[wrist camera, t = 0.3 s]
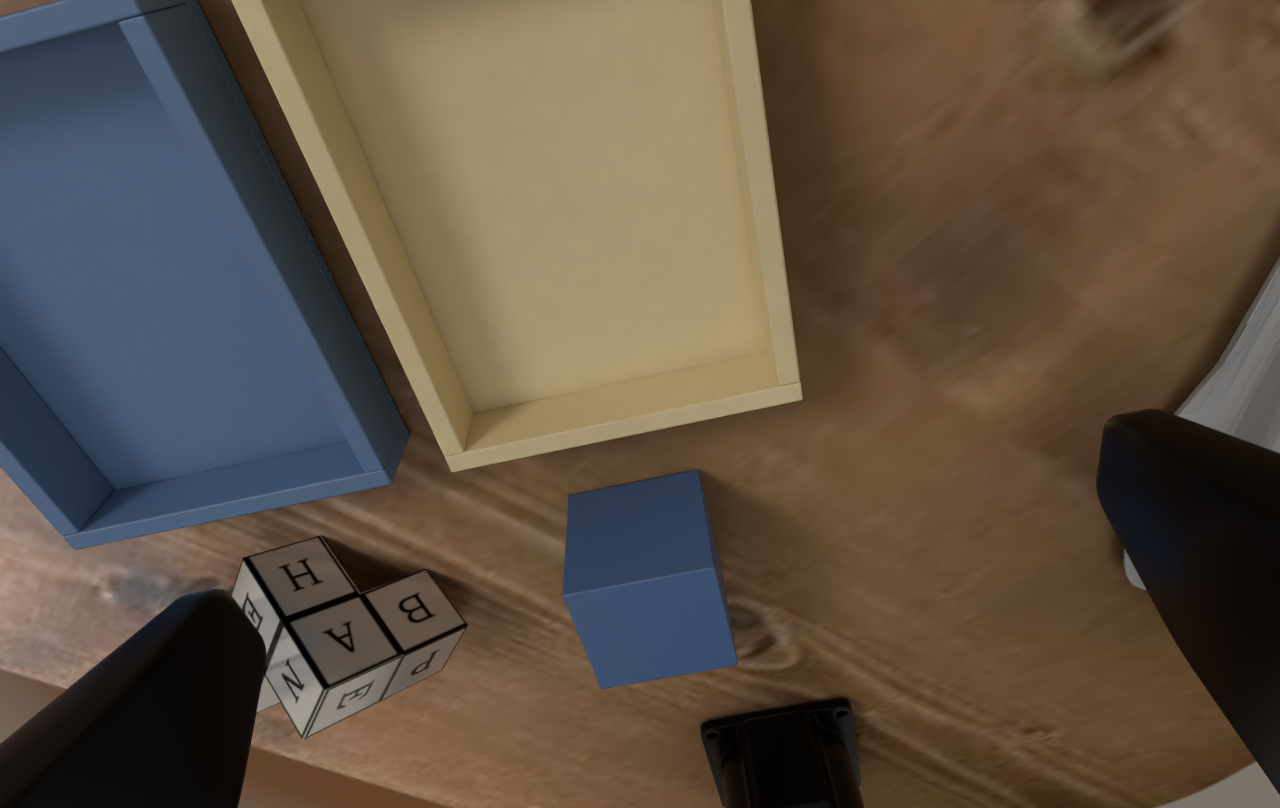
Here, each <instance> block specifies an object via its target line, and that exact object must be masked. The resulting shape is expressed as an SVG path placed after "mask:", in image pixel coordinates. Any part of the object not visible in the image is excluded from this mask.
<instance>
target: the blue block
mask: <svg viewBox="0 0 1280 808" xmlns="http://www.w3.org/2000/svg"><path fill="white" fill-rule="evenodd" d="M563 598H564V601H565V603H566V606H567V608H568V610H569V613H570V615H571V618H572V620H573V623H574V625H575V627H576V630H577V632H578V635H579V637H580V640H581V642H582V644H583V647H584V649H585V652H586V654H587V657H588V659H589V661H590V664H591V666H592V669H593V671H594V674H595V676H596V678H597V681H598V683H599V686H600V688H601V689H605V688H611V687H617V686H622V685H628V684H634V683H639V682H645V681H651V680H656V679H662V678H668V677H673V676H679V675H685V674H690V673H696V672H702V671H707V670H713V669H719V668H725V667H730V666H736V665H738V660H737V654H736V648H735V642H734V637H733V631H732V625H731V619H730V614H729V608H728V602H727V596H726V590H725V585H724V579H723V573H722V567H721V562H720V558H719V553H718V549H717V545H716V541H715V536H714V532H713V528H712V524H711V519H710V515H709V511H708V507H707V502H706V498H705V494H704V490H703V485H702V481H701V477H700V473H699V470H694V471H689V472H684V473H679V474H674V475H669V476H664V477H659V478H654V479H649V480H644V481H639V482H634V483H629V484H624V485H619V486H614V487H609V488H604V489H599V490H594V491H589V492H584V493H579V494H574V495H570V496H569V498H568V515H567V531H566V548H565V564H564V581H563Z"/></svg>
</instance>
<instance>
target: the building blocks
mask: <svg viewBox="0 0 1280 808" xmlns="http://www.w3.org/2000/svg"><path fill="white" fill-rule="evenodd" d="M231 596H232V597H233V598H234V599H235V600H236V602H237V603H238V604H239V606H240V607H241V609H242V610H243V611H244V613H245V614H246V615H247V617H248V618H249V619H250V621H251V622H252V623H253V625H254V626H255V627H256V629H257V630H258V631H259V633H260V634H261V636H262V637H263V640H264V643H265V647H266V665H265V670H264V675H263V681H262V686H261V691H260V697H259V702H258V707H257V713H258V712H260V711H262V710H265V709H267V708H269V707H271V706H273V705H276V704H278V703H280V702H281V704H282V706H283V708H284V709H285V711H286V713H287V714H288V716H289V718H290V719H291V721H292V723H293V725H294V726H295V728H296V730H297V731H298V733H299V735H300V736H301V738H302V740H304V739H306V738H308V737H310V736H312V735H314V734H316V733H318V732H320V731H322V730H324V729H326V728H328V727H330V726H332V725H334V724H336V723H338V722H340V721H342V720H344V719H346V718H348V717H350V716H352V715H354V714H356V713H358V712H360V711H362V710H364V709H366V708H368V707H370V706H372V705H374V704H376V703H378V702H380V701H382V700H384V699H386V698H388V697H390V696H392V695H394V694H396V693H398V692H400V691H402V690H404V689H406V688H408V687H410V686H412V685H414V684H416V683H418V682H420V681H422V680H424V679H426V678H428V677H430V676H432V675H434V674H436V673H438V672H440V671H442V669H443V668H444V666H445V664H446V663H447V661H448V659H449V657H450V656H451V654H452V652H453V650H454V649H455V647H456V645H457V643H458V642H459V640H460V638H461V636H462V635H463V633H464V631H465V630H466V628H467V626H468V625H467V623H466V622H465V621H464V619H463V618H462V617H461V615H460V614H459V612H458V611H457V610H456V608H455V607H454V606H453V604H452V603H451V602H450V600H449V599H448V598H447V596H446V595H445V594H444V592H443V591H442V590H441V588H440V587H439V586H438V584H437V583H436V582H435V580H434V579H433V577H432V576H431V575H430V573H429V572H428V571H427V569H424V570H422V571H419V572H416V573H413V574H411V575H408V576H405V577H402V578H400V579H397V580H394V581H391V582H389V583H386V584H383V585H381V586H378V587H375V588H372V589H370V590H367V591H364V592H361V593H360V592H359V590H358V589H357V588H356V586H355V585H354V583H353V582H352V580H351V579H350V577H349V576H348V574H347V573H346V571H345V570H344V569H343V567H342V566H341V564H340V563H339V561H338V560H337V558H336V557H335V555H334V554H333V553H332V551H331V550H330V548H329V547H328V545H327V544H326V542H325V541H324V539H323V538H322V537H321V536H317V537H314V538H310V539H307V540H304V541H300V542H297V543H293V544H290V545H286V546H283V547H279V548H276V549H272V550H269V551H265V552H262V553H258V554H255V555H251V556H248V557H244V558H243V560H242V563H241V566H240V569H239V572H238V575H237V578H236V581H235V584H234V587H233V590H232V593H231Z"/></svg>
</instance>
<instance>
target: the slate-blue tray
mask: <svg viewBox="0 0 1280 808" xmlns="http://www.w3.org/2000/svg"><path fill="white" fill-rule="evenodd" d="M408 438H409V432H408V430H407V428H406V426H405V424H404V422H403V420H402V418H401V416H400V414H399V412H398V410H397V408H396V406H395V404H394V402H393V400H392V398H391V396H390V394H389V392H388V390H387V387H386V385H385V383H384V381H383V379H382V377H381V375H380V373H379V371H378V369H377V367H376V365H375V363H374V361H373V359H372V357H371V355H370V353H369V351H368V349H367V347H366V345H365V343H364V340H363V338H362V336H361V334H360V332H359V330H358V328H357V326H356V324H355V322H354V320H353V318H352V316H351V314H350V312H349V310H348V308H347V306H346V304H345V302H344V300H343V298H342V296H341V293H340V291H339V289H338V287H337V285H336V283H335V281H334V279H333V277H332V275H331V273H330V271H329V269H328V267H327V265H326V263H325V261H324V259H323V257H322V255H321V253H320V251H319V249H318V246H317V244H316V242H315V240H314V238H313V236H312V234H311V232H310V230H309V228H308V226H307V224H306V222H305V220H304V218H303V216H302V214H301V212H300V210H299V208H298V206H297V204H296V202H295V200H294V197H293V195H292V193H291V191H290V189H289V187H288V185H287V183H286V181H285V179H284V177H283V175H282V173H281V171H280V169H279V167H278V165H277V163H276V161H275V159H274V157H273V155H272V153H271V150H270V148H269V146H268V144H267V142H266V140H265V138H264V136H263V134H262V132H261V130H260V128H259V126H258V124H257V122H256V120H255V118H254V116H253V114H252V112H251V110H250V108H249V106H248V103H247V101H246V99H245V97H244V95H243V93H242V91H241V89H240V87H239V85H238V83H237V81H236V79H235V77H234V75H233V73H232V71H231V69H230V67H229V65H228V63H227V61H226V59H225V56H224V54H223V52H222V50H221V48H220V46H219V44H218V42H217V40H216V38H215V36H214V34H213V32H212V30H211V28H210V26H209V24H208V22H207V20H206V18H205V16H204V14H203V12H202V9H201V7H200V5H199V3H198V1H197V0H58V1H55V2H51V3H48V4H44V5H41V6H37V7H33V8H30V9H26V10H23V11H19V12H16V13H12V14H8V15H5V16H1V17H0V467H1V468H2V469H3V470H4V471H5V472H6V473H7V475H8V476H9V477H10V478H11V479H12V480H13V481H14V482H15V484H16V485H17V486H18V487H19V488H20V489H21V490H22V492H23V493H24V494H25V495H26V496H27V497H28V498H29V499H30V501H31V502H32V503H33V504H34V505H35V506H36V507H37V508H38V510H39V511H40V512H41V513H42V514H43V515H44V516H45V518H46V519H47V520H48V521H49V522H50V523H51V524H52V525H53V527H54V528H55V529H56V530H57V531H58V532H59V533H60V534H61V535H62V536H64V539H65V540H66V541H67V542H68V543H69V544H70V546H71V547H72V548H73V549H75V550H77V549H82V548H87V547H91V546H96V545H101V544H106V543H111V542H116V541H120V540H125V539H130V538H135V537H140V536H145V535H150V534H154V533H159V532H164V531H169V530H174V529H179V528H183V527H188V526H193V525H198V524H203V523H208V522H212V521H217V520H222V519H227V518H232V517H237V516H241V515H246V514H251V513H256V512H261V511H266V510H271V509H275V508H280V507H285V506H290V505H295V504H300V503H304V502H309V501H314V500H319V499H324V498H329V497H333V496H338V495H343V494H348V493H353V492H358V491H363V490H367V489H372V488H377V487H382V486H387V485H390V484H392V482H393V479H394V476H395V474H396V471H397V468H398V465H399V463H400V460H401V457H402V454H403V452H404V449H405V446H406V443H407V441H408Z"/></svg>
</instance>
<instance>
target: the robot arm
mask: <svg viewBox="0 0 1280 808" xmlns="http://www.w3.org/2000/svg"><path fill="white" fill-rule="evenodd" d="M1096 487H1097V494H1098V498H1099V501H1100V504H1101V506H1102V508H1103V510H1104V512H1105V514H1106V516H1107V517H1108V519H1109V521H1110V523H1111V525H1112V527H1113V529H1114V530H1115V532H1116V534H1117V536H1118V538H1119V540H1120V542H1121V543H1122V545H1123V547H1124V549H1125V551H1126V553H1127V555H1128V556H1129V558H1130V560H1131V562H1132V564H1133V566H1134V568H1135V569H1136V571H1137V573H1138V575H1139V577H1140V579H1141V581H1142V582H1143V584H1144V586H1145V588H1146V590H1147V592H1148V594H1149V595H1150V597H1151V599H1152V601H1153V603H1154V605H1155V607H1156V608H1157V610H1158V612H1159V614H1160V616H1161V618H1162V620H1163V621H1164V623H1165V625H1166V627H1167V628H1168V630H1169V632H1170V633H1171V635H1172V637H1173V639H1174V640H1175V642H1176V644H1177V645H1178V647H1179V648H1180V650H1181V652H1182V653H1183V655H1184V656H1185V658H1186V659H1187V661H1188V662H1189V664H1190V665H1191V667H1192V668H1193V670H1194V671H1195V673H1196V674H1197V676H1198V677H1199V678H1200V680H1201V681H1202V683H1203V684H1204V686H1205V687H1206V689H1207V690H1208V692H1209V693H1210V694H1211V696H1212V697H1213V699H1214V700H1215V702H1216V703H1217V705H1218V706H1219V707H1220V709H1221V710H1222V712H1223V713H1224V715H1225V716H1226V718H1227V719H1228V720H1229V722H1230V723H1231V725H1232V726H1233V728H1234V729H1235V731H1236V732H1237V734H1238V735H1239V736H1240V738H1241V739H1242V741H1243V742H1244V744H1245V745H1246V747H1247V748H1248V749H1249V751H1250V752H1251V754H1252V755H1253V757H1254V758H1255V760H1256V761H1257V762H1258V764H1259V765H1260V767H1261V768H1262V770H1263V771H1264V773H1265V774H1266V776H1267V777H1268V778H1269V780H1270V781H1271V783H1272V784H1273V785H1274V787H1275V789H1276V790H1277V791H1278V793H1279V794H1280V453H1278V452H1276V451H1273V450H1270V449H1267V448H1265V447H1262V446H1259V445H1256V444H1254V443H1251V442H1248V441H1245V440H1243V439H1240V438H1237V437H1235V436H1232V435H1229V434H1226V433H1224V432H1221V431H1218V430H1215V429H1213V428H1210V427H1207V426H1204V425H1202V424H1199V423H1196V422H1194V421H1191V420H1188V419H1185V418H1183V417H1180V416H1177V415H1174V414H1172V413H1169V412H1166V411H1163V410H1160V409H1145V410H1140V411H1135V412H1129V413H1124V414H1119V415H1115V416H1113V417H1111V418H1110V419H1109V420H1108V421H1107V422H1106V424H1105V426H1104V430H1103V436H1102V443H1101V450H1100V458H1099V465H1098V472H1097V479H1096ZM265 665H266V647H265V643H264V640H263V637H262V636H261V634H260V633H259V631H258V630H257V629H256V627H255V626H254V625H253V623H252V622H251V621H250V619H249V618H248V617H247V615H246V614H245V613H244V611H243V610H242V609H241V607H240V606H239V604H238V603H237V602H236V600H235V599H234V598H233V597H232V596H231V594H229V593H228V592H226V591H224V590H220V589H213V590H208V591H202V592H197V593H192V594H188V595H185V596H182V597H180V598H179V599H177V600H176V601H174V602H173V603H172V604H171V605H170V606H168V607H167V608H166V609H165V610H163V611H162V612H161V613H160V614H159V615H157V616H156V617H155V618H154V619H152V620H151V621H150V622H149V623H148V624H146V625H145V626H144V627H143V628H141V629H140V630H139V631H138V632H136V633H135V634H134V635H133V636H132V637H130V638H129V639H128V640H127V641H125V642H124V643H123V644H122V645H121V646H119V647H118V648H117V649H116V650H114V651H113V652H112V653H111V654H110V655H108V656H107V657H106V658H105V659H103V660H102V661H101V662H100V663H98V664H97V665H96V666H95V667H94V668H92V669H91V670H90V671H89V672H87V673H86V674H85V675H84V676H83V677H81V678H80V679H79V680H78V681H76V682H75V683H74V684H73V685H72V686H70V687H69V688H68V689H67V690H65V691H64V692H63V693H62V694H60V695H59V696H58V697H57V698H56V699H54V700H53V701H52V702H51V703H49V704H48V705H47V706H46V707H45V708H43V709H42V710H41V711H40V712H38V713H37V714H36V715H35V716H34V717H32V718H31V719H30V720H29V721H27V722H26V723H25V724H24V725H23V726H21V727H20V728H19V729H18V730H16V731H15V732H14V733H13V734H11V735H10V736H9V737H8V738H7V739H5V740H4V741H3V742H2V743H0V808H238V803H239V800H240V795H241V790H242V786H243V781H244V777H245V771H246V766H247V761H248V755H249V750H250V745H251V739H252V734H253V729H254V723H255V718H256V713H257V707H258V702H259V697H260V691H261V686H262V681H263V675H264V670H265ZM701 738H702V741H703V744H704V748H705V751H706V754H707V757H708V760H709V764H710V767H711V770H712V773H713V776H714V780H715V783H716V786H717V789H718V793H719V796H720V799H721V802H722V805H723V806H724V807H725V808H864V804H863V801H862V797H861V794H860V790H859V786H860V785H861V776H860V768H859V759H858V751H857V742H856V734H855V725H854V717H853V711H852V707H851V704H850V702H849V701H848V700H846V699H834V700H828V701H822V702H817V703H811V704H805V705H799V706H793V707H787V708H781V709H775V710H769V711H764V712H758V713H752V714H746V715H740V716H734V717H728V718H722V719H716V720H711V721H707V722H705V723H703V724H702V725H701Z"/></svg>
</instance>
